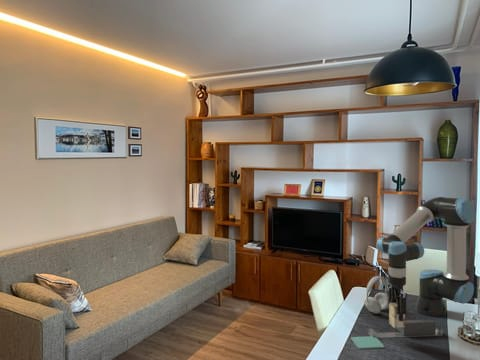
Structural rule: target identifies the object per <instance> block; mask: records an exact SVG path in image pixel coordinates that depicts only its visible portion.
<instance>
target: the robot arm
mask: <svg viewBox="0 0 480 360" xmlns="http://www.w3.org/2000/svg"><path fill="white" fill-rule="evenodd" d="M475 218H476V209H475V205H474V204H473V203H472V201H470V200H468V199H464V198H458V197H457V198H456V197H444V196H438V197H434V198H431V199H429V200H427V201H425V202H424V203H422V204H420V205H419V206H418V207H417V208H416V210H415V212H414V213H413V214H412V215H411V216H410V217H408V219H406V220H405V221H404V222H403V223H402V224H400V225H399V226H398V227H397V228H396V229H395V230H393V232H391V233H390V234H389V235H388V236H387V237H379V238H377V241H376V249H377V250H378V252H380V253H383V254H387V255H388V269H387V270H388V277H387V278H388V279H387V281H388V282H387V293H388V294H387V295H388V304H389V303H395V302H397V309H398V313H397V328H398V327H403V314H405V315H407V299H408V298H407V297H408V294H407V293H406V292H405V291H404V286H406V285H407V277H406V276H407V262H408V261H409V262H411V261H415V260H418V259H421V258H422V257H424V255H425V249H424V246H423V245H422V244H421V243H419V242H412V243H411V242H407V241H408V240H409V239H411V238H412V237H413V236H414V235H415V234H416V233H418V232H419V231H420V229H422V228H423V227H424V226H425V225H427V223H431V222H433V221H434V220H436V219H437V220H439V219H441V220H443V225H444V226H445V227H446V271H445V272H444V271H442V270H440V269H439V270H438V269H424V270H421V271H420V273H419V295H418V299H417V301H416V304H415V311H416V312H418V313H420V314H422V315H425V316H427V317H435V318H440V317H444V316H446V314H447V310H446V307H445V302H444V299H446V300H449V301H451V302H454V303H459V304H463V305H464V304H467V303H469V301H471V299H472V298H473V296H474V291H475V286H474V284H473V282H470V277H469V276H468V274H466V271H467V270H466V267H467V266H466V265H467V264H466V263H467V228H468V227H470V224H472V223H473V221H475ZM390 301H391V302H390Z"/></svg>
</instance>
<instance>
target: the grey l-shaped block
mask: <svg viewBox="0 0 480 360" xmlns="http://www.w3.org/2000/svg"><path fill="white" fill-rule="evenodd" d="M436 324H437V322H436V321H435V320H434V319H431V318H430V319H410V320H409V319H407V320H406V319H405V328H395V329H396V330H397V332H401V333H402V334H403V335H427V334H436V326H437V325H436Z"/></svg>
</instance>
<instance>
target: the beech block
mask: <svg viewBox="0 0 480 360" xmlns="http://www.w3.org/2000/svg"><path fill="white" fill-rule="evenodd" d="M388 309H389V311H388V314H389V315H388V322H389V325H391V326H392V328H394V329H396V328H397V313H398V309H397V302H395V303H389V308H388ZM405 320H406V314H403V327H398V328H405Z"/></svg>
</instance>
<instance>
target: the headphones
mask: <svg viewBox="0 0 480 360" xmlns="http://www.w3.org/2000/svg"><path fill="white" fill-rule="evenodd" d="M379 280H380V281H381V282H382V284H383V286H384V287H385V288H384V289H385V292H378V293H376V294H375V295H374V297H372V296H369V293H370V292H371V290H372V288H373V286H374V285H375V284H376V282H377V281H379ZM387 281H388V280H386V278H385V277H383V276H379V275H376V276H373V277H371V279H370V280H369V281H368V283H367V285H366V289H365V290H366V298H365V299H364V307H366V309H367V310H368V311H369V312H371V313H372V314H375V315H376V314H377V315H378V314H379V313H380V312H381V311H383V310H384V311H385V310H387V309H389V304H388V294H387V293H388V282H387ZM390 302H391V301H390Z"/></svg>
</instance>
